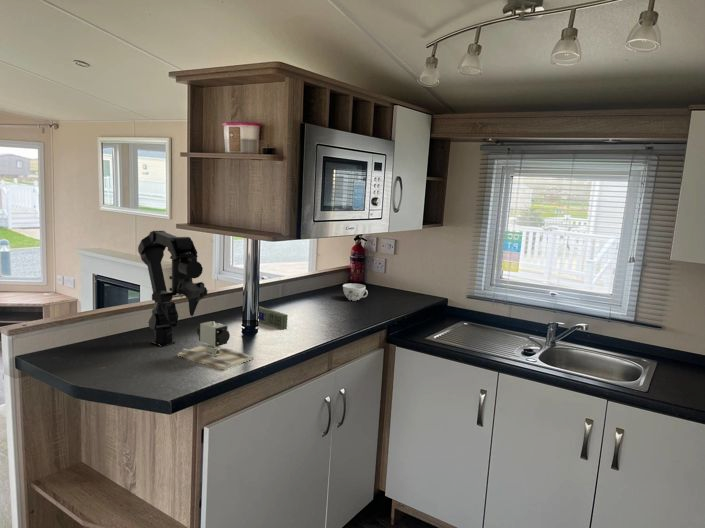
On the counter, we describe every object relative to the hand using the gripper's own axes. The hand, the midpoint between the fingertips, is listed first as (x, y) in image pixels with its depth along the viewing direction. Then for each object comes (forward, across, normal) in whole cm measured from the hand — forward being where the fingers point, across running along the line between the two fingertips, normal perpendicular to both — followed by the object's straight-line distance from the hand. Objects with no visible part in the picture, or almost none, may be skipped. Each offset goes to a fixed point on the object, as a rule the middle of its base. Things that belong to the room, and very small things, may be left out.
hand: (180, 318), depth 175 cm
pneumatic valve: (+12, +5, -12) cm, 17 cm away
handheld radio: (+13, +50, +8) cm, 52 cm away
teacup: (+13, +118, +8) cm, 119 cm away
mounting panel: (+13, +6, -12) cm, 18 cm away
